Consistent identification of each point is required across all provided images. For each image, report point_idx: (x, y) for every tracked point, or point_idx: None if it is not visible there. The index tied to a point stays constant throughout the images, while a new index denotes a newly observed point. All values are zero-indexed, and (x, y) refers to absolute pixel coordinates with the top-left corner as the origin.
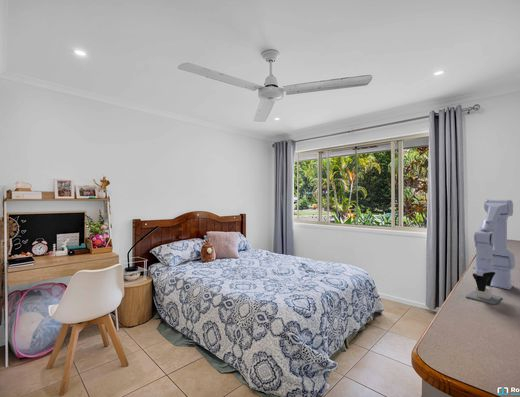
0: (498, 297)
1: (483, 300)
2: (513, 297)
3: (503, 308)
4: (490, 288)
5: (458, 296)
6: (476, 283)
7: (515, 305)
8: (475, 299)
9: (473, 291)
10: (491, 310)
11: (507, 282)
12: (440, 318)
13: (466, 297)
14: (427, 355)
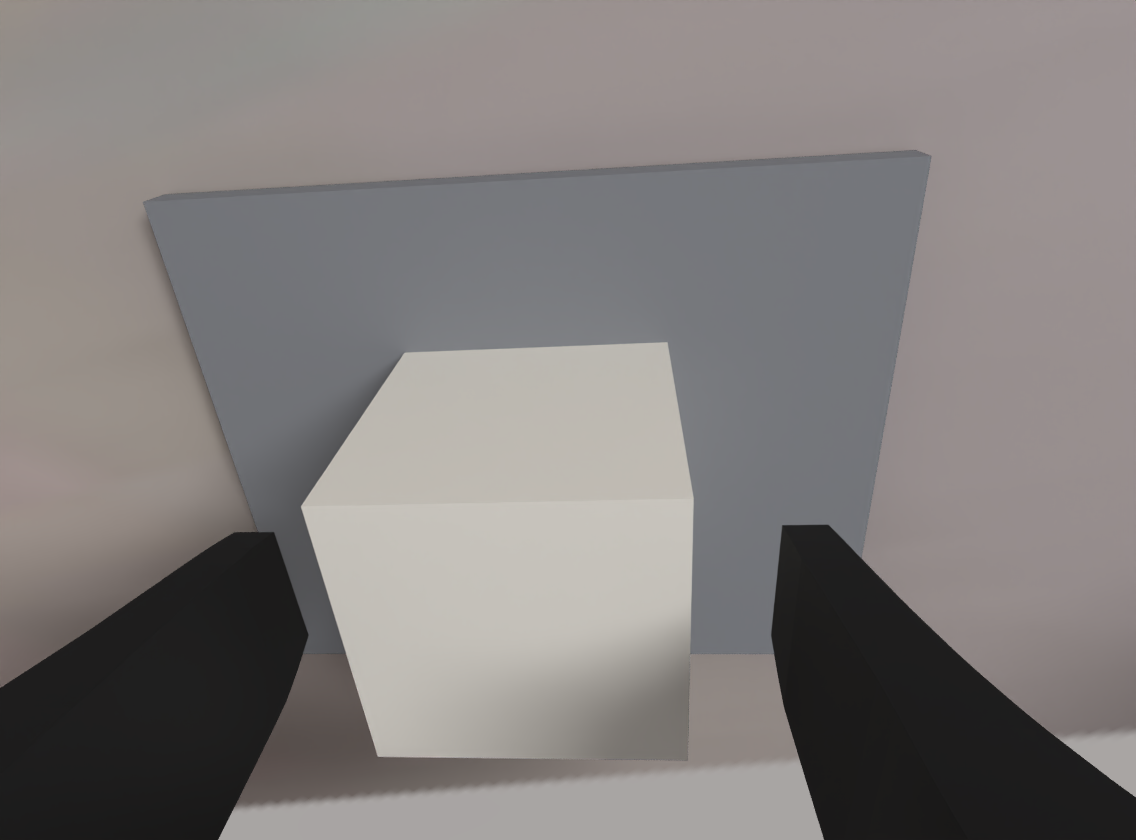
0: (745, 627)
1: (265, 518)
2: (1072, 719)
3: None
4: (545, 738)
5: (61, 30)
6: (19, 677)
7: (588, 778)
8: (222, 391)
9: (811, 178)
10: (2, 651)
11: None
12: None
13: (164, 216)
14: None
